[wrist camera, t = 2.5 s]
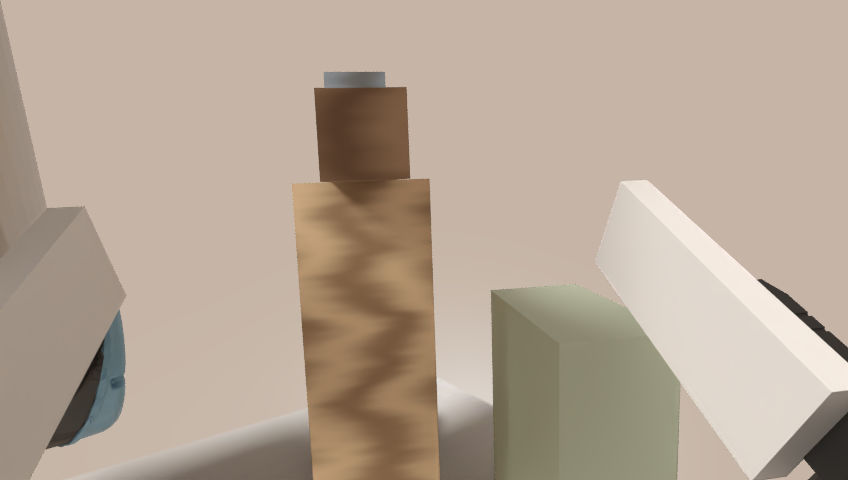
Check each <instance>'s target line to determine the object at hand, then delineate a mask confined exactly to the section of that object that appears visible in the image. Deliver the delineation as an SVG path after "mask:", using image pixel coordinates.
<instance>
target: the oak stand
mask: <svg viewBox="0 0 848 480" xmlns="http://www.w3.org/2000/svg"><path fill="white" fill-rule="evenodd" d="M292 192H293V206H294V219H295V232H296V233H295V234H296V248H297V259H298V260H297V261H298V275H299V289H300V302H301V316H302V331H303V343H304V344H303V345H304V359H305V372H306V386H307V401H308V414H309V428H310V442H311V456H312V470H313V480H440V469H439V440H438V411H437V383H436V354H435V326H434V297H433V268H432V241H431V212H430V183H429V179H409V180H381V181H353V182H326V183H299V184H292Z"/></svg>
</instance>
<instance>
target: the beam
mask: <svg viewBox="0 0 848 480" xmlns="http://www.w3.org/2000/svg"><path fill="white" fill-rule="evenodd" d="M324 86H325V88H314V91H315V92H314V93H315V107H316V108H315V109H316V124H317V139H318V154H319V171H320V182H353V181H381V180H398V179H409V178H410V165H409V139H408V114H407V90H406V87H391V88H390V87H388V88H386V87H385V72H324Z"/></svg>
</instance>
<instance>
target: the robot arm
mask: <svg viewBox="0 0 848 480" xmlns="http://www.w3.org/2000/svg"><path fill="white" fill-rule="evenodd" d="M595 263H596V264H597V266H598V267H599V268H600V270H601V271H602V273H603V274H604V275H605V277H606V278H607V280H608V281H609V282H610V284H611V285H612V287H613V288H614V289H615V291H616V292H617V294H618V295H619V297H620V298H621V299H622V301H623V302H624V304H625V305H626V306H627V308H628V309H629V311H630V312H631V314H632V315H633V316H634V318H635V319H636V321H637V322H638V323H639V325H640V326H641V328H642V329H643V330H644V332H645V333H646V335H647V336H648V337H649V339H650V340H651V342H652V343H653V345H654V346H655V347H656V349H657V350H658V352H659V353H660V354H661V356H662V357H663V359H664V360H665V361H666V363H667V364H668V366H669V367H670V369H671V370H672V371H673V373H674V374H675V376H676V377H677V378H678V380H679V381H680V383H681V384H682V385H683V387H684V388H685V390H686V391H687V392H688V394H689V395H690V397H691V398H692V400H693V401H694V402H695V404H696V405H697V407H698V408H699V409H700V411H701V412H702V414H703V415H704V416H705V418H706V419H707V421H708V422H709V424H710V425H711V426H712V428H713V429H714V431H715V432H716V433H717V435H718V436H719V438H720V439H721V440H722V442H723V443H724V445H725V446H726V447H727V449H728V450H729V452H730V453H731V455H732V456H733V457H734V459H735V460H736V462H737V463H738V464H739V466H740V467H741V468H742V470H743V471H744V473H745V474H746V476H747V477H748V479H749V480H766V479H772V478H779V477H785V476H787V475H788V474H789V473H790V472H791V471H792V470H793V469H794V468H795V467H796V466H797V465H798V464H799V463H800V462H801V461H802V460H803V459H805V461H806V462H807V463H808V464H809V465H810V467H811V468H812V469H813V470H814V471H815V474H813V476H812V477H810V478H809V479H808V480H848V347H847V346H845V345H844V344H843V343H842V342H841V341H840V340H839V339H837V338H836V337H835V336H834V335H833V334H832V333H831V332H829V331H825V329H824V328H825V327H824V326H823V325H822V324H820V323H819V322H818V321H817V320H816V319H815V318H814V317H812V316H808V314H807V313H808V312H807V311H805V309H803V308H802V307H801V306H800V305H799V304H798V303H797V302H795V301H794V300H793V299H792V298H791V297H790V296H789V295H788V294H786V293H784V292H782V291H780V290H779V289H777V288H776V287H774V286H772V285H770V284H769V283H767V282H765V281H763V280H762V279H759V280H756V279H755V278H754V277H753V276H752V275H751V274H750V273H749V272H748V271H746V270H745V269H744V268H743V267H742V266H741V265H740V264H739V263H738V262H736V261H735V260H734V259H733V258H732V257H731V256H730V255H729V254H728V253H727V252H725V251H724V250H723V249H722V248H721V247H720V246H719V245H718V244H717V243H716V242H715V241H713V240H712V239H711V238H710V237H709V236H708V235H707V234H706V233H705V232H704V231H702V230H701V229H700V228H699V227H698V226H697V225H696V224H695V223H694V222H692V221H691V220H690V219H689V218H688V217H687V216H686V215H685V214H684V213H683V212H681V210H679V209H678V208H677V207H676V206H675V205H674V204H673V203H672V202H671V201H669V200H668V199H667V198H666V197H665V196H664V195H663V194H662V193H661V192H660V191H659V190H657V189H656V188H655V187H654V186H653V185H652V184H651V183H650V182H649V181H647V180H640V181H621V182H620V185H619V188H618V191H617V194H616V198H615V201H614V204H613V207H612V210H611V213H610V216H609V219H608V222H607V225H606V228H605V232H604V235H603V238H602V241H601V244H600V247H599V250H598V254H597V256H596V260H595ZM125 297H126V294H125V292H124V290H123V288H122V285H121V283H120V281H119V279H118V277H117V275H116V273H115V271H114V269H113V266H112V264H111V262H110V260H109V258H108V256H107V254H106V251H105V249H104V247H103V245H102V243H101V241H100V238H99V237H98V234H97V232H96V230H95V228H94V226H93V223H92V221H91V219H90V217H89V215H88V213H87V211H86V209H85V207H63V208H47V207H46V203H45V198H44V194H43V189H42V185H41V180H40V176H39V171H38V167H37V162H36V158H35V153H34V149H33V145H32V140H31V136H30V132H29V127H28V123H27V118H26V114H25V109H24V105H23V100H22V96H21V91H20V87H19V82H18V78H17V73H16V69H15V65H14V60H13V56H12V51H11V47H10V42H9V38H8V33H7V29H6V24H5V20H4V15H3V11H2V7H1V2H0V480H30V477H31V476H32V474H33V472H34V470H35V468H36V466H37V464H38V462H39V461H40V459H41V457H42V455H43V453H44V451H45V449H49V448H52V447H56V446H59V447H63V446H66V445H71V444H74V443H76V442H77V441H79V440H80V439H82V438H85V437H88V436H91V435H94V434H97V433H100V432H103V431H105V430H106V429H108V428H109V427H111V426H112V425H113V424H114V423H115V422H116V421H117V419H118V418H119V416H120V413H121V411H122V407H123V402H124V396H125V379H124V376H123V375H124V373H125V344H124V334H123V327H122V320H121V315H120V310H119V309H120V307H121V305H122V303H123V301H124V299H125Z"/></svg>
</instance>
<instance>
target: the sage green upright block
mask: <svg viewBox="0 0 848 480" xmlns="http://www.w3.org/2000/svg"><path fill="white" fill-rule="evenodd" d="M491 312H492V363H493V364H492V365H493V418H494V471H495V480H677V464H678V436H679V405H680V381H679V380H678V378H677V377H676V376H675V374H674V373H673V371H672V370H671V369H670V367H669V366H668V364H667V363H666V361H665V360H664V359H663V357H662V356H661V354H660V353H659V352H658V350H657V349H656V347H655V346H654V345H653V343H652V342H651V340H650V339H649V337H648V336H647V335H646V333H645V332H644V330H643V329H642V328H641V326H640V325H639V323H638V322H637V321H636V319H635V318H634V316H633V315H632V314H631V312H630V311H629V309H628V308H627V307H625V306H623V305H620V304H618V303H616V302H613V301H612V300H609V299H607V298H605V297H603V296H601V295H598V294H596V293H594V292H592V291H589V290H587V289H585V288H583V287H581V286H579V285H576V284H572V285H560V286H559V285H558V286H545V287H531V288H517V289H503V290H491Z"/></svg>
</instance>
